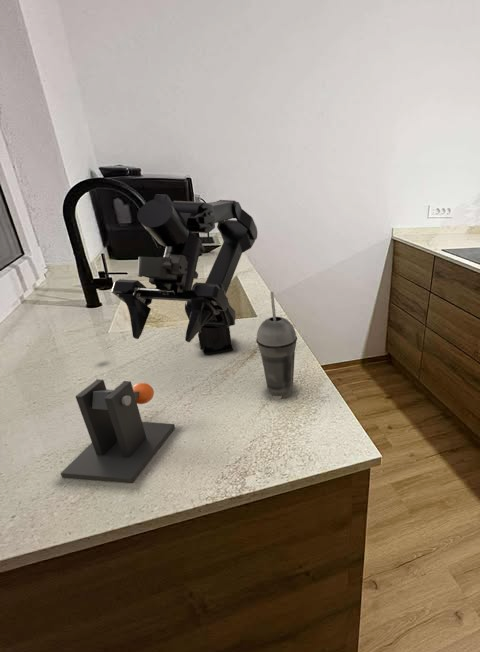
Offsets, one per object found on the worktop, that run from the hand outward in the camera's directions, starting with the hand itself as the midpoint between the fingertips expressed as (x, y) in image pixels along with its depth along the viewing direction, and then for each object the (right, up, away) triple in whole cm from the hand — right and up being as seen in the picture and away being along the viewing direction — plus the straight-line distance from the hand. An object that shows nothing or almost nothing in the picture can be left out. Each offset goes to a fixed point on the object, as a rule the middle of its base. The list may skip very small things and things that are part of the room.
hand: (161, 339), depth 67 cm
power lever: (-1, -10, -9) cm, 14 cm away
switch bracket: (-1, -18, -8) cm, 20 cm away
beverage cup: (+19, -10, +8) cm, 23 cm away
